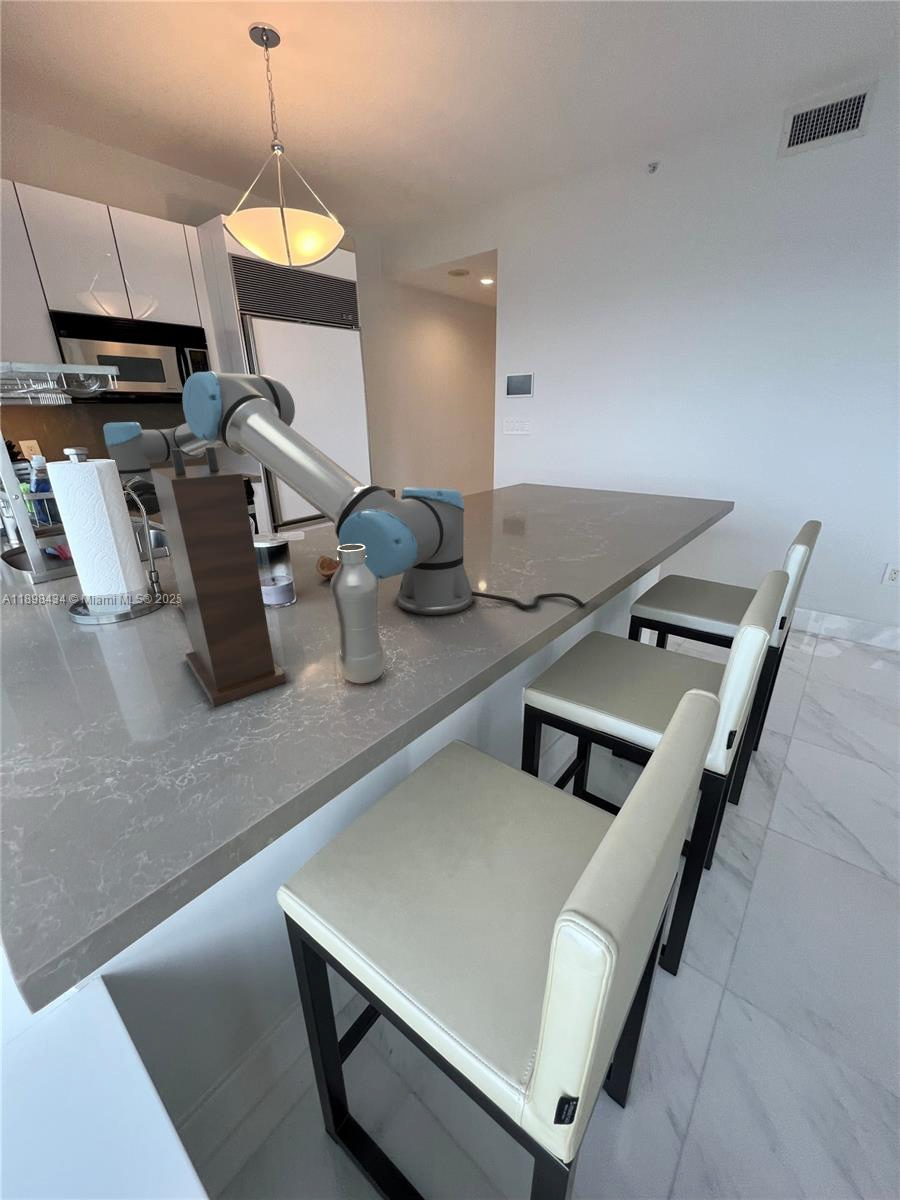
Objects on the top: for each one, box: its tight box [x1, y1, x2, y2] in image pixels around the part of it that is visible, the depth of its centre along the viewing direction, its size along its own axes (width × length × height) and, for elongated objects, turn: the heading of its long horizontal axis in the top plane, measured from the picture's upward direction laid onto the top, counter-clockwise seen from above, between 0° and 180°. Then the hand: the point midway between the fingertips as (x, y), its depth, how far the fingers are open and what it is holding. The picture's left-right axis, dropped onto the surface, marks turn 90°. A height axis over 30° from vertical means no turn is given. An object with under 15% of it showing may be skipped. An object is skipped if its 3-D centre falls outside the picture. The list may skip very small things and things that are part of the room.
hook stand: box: [151, 447, 287, 708], centre depth 69 cm, size 16×10×33 cm, turn 38°
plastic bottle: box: [329, 544, 386, 684], centre depth 69 cm, size 6×7×20 cm
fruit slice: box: [315, 555, 340, 580], centre depth 114 cm, size 8×7×5 cm
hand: (161, 510), depth 95 cm, fingers open, 13 cm apart
